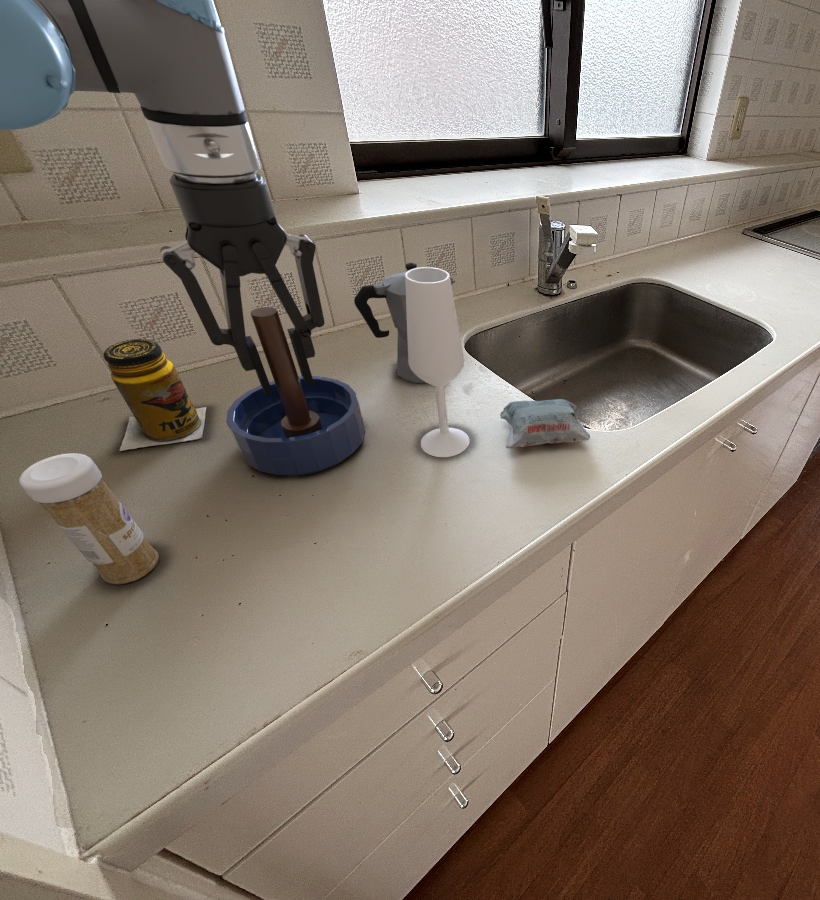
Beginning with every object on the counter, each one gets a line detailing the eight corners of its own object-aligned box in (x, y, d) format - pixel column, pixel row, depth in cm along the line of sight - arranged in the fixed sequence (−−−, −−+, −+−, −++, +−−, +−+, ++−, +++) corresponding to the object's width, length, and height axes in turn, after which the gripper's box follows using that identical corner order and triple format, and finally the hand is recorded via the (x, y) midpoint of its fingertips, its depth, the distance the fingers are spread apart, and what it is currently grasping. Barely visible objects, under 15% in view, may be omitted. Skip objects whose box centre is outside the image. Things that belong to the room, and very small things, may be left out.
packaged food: (588, 451, 72) (591, 424, 69) (506, 458, 69) (505, 430, 66) (574, 417, 79) (577, 390, 76) (499, 422, 75) (498, 394, 72)
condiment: (202, 439, 65) (161, 358, 58) (119, 452, 62) (65, 368, 54) (207, 408, 70) (170, 330, 62) (130, 419, 67) (82, 337, 59)
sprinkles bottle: (168, 565, 51) (100, 467, 42) (113, 594, 48) (27, 495, 39) (148, 542, 52) (78, 444, 44) (94, 569, 49) (7, 469, 41)
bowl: (223, 480, 60) (204, 442, 56) (266, 410, 71) (253, 374, 67) (352, 478, 63) (342, 441, 59) (375, 411, 74) (367, 376, 70)
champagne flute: (439, 422, 74) (420, 259, 58) (478, 436, 72) (470, 273, 57) (410, 447, 69) (381, 276, 53) (452, 463, 67) (435, 292, 52)
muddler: (282, 448, 64) (233, 319, 53) (293, 427, 68) (249, 302, 56) (319, 448, 65) (279, 321, 54) (328, 427, 69) (291, 304, 57)
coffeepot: (448, 348, 90) (439, 247, 79) (473, 372, 85) (467, 268, 74) (361, 369, 82) (336, 259, 71) (382, 397, 77) (360, 284, 65)
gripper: (99, 187, 40) (211, 421, 55) (326, 180, 49) (369, 382, 64) (95, 165, 44) (200, 388, 59) (304, 162, 53) (349, 356, 68)
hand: (287, 384), depth 61 cm, fingers open, 4 cm apart
